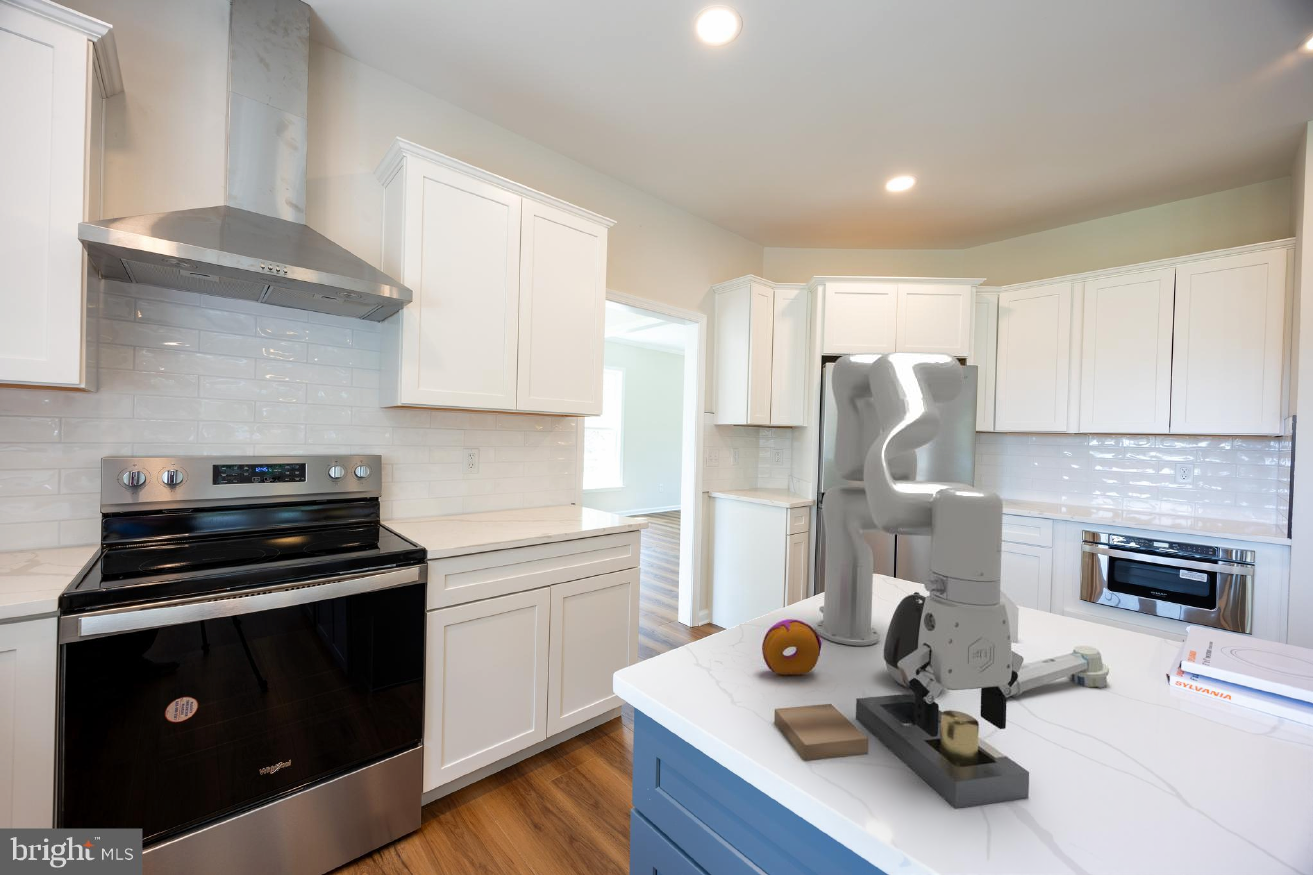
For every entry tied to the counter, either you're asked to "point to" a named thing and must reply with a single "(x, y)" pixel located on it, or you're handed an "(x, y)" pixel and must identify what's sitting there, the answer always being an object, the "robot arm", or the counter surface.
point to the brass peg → (959, 738)
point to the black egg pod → (904, 634)
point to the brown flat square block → (820, 732)
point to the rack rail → (922, 754)
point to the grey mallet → (1063, 670)
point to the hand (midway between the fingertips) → (959, 726)
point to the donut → (791, 636)
